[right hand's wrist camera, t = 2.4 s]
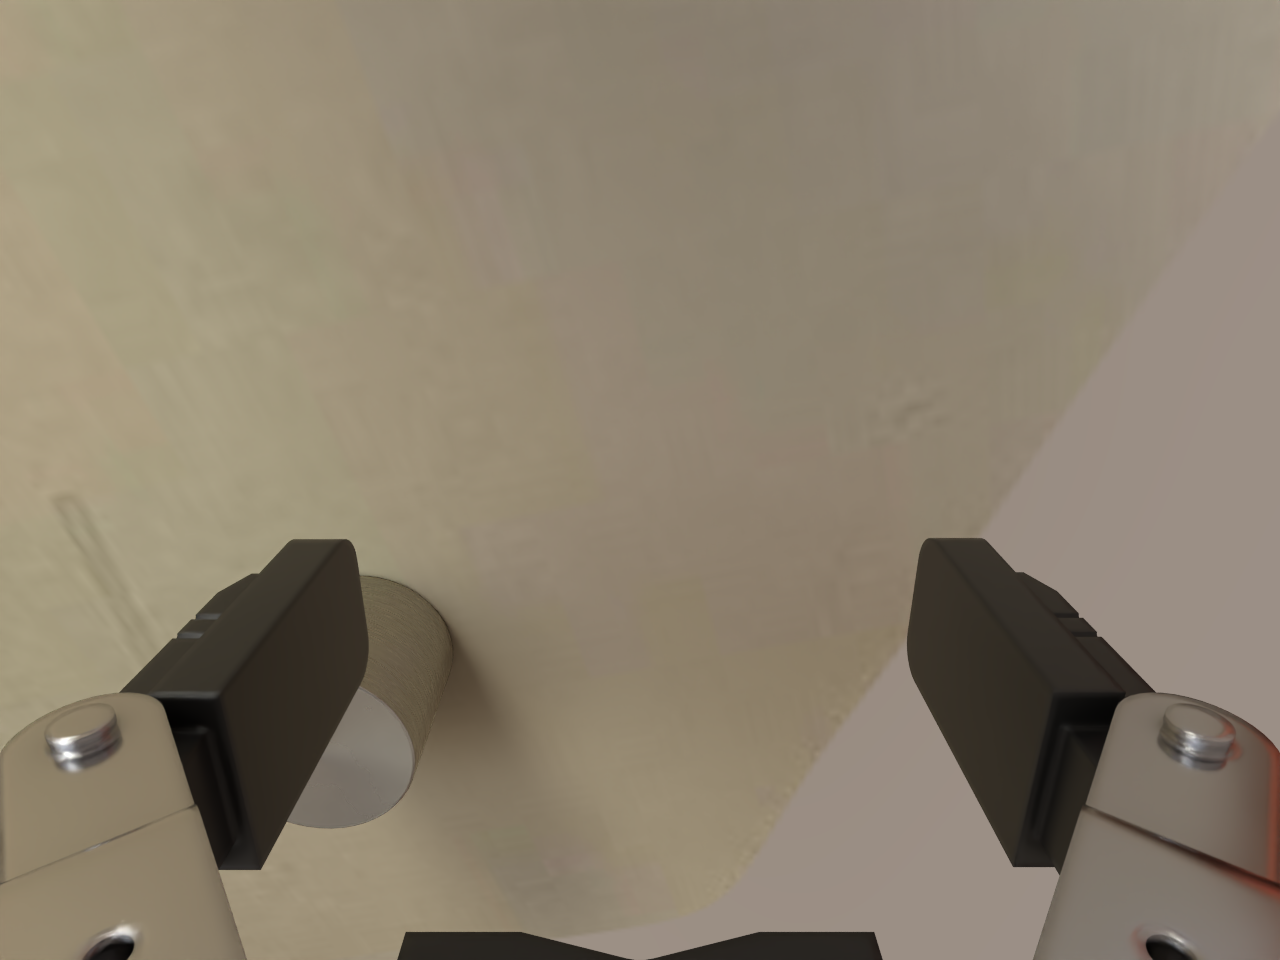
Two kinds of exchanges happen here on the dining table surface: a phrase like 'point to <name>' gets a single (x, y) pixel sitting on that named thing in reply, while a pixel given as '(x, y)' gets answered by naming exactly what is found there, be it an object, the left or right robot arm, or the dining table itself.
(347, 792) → the tin
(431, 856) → the dining table surface
